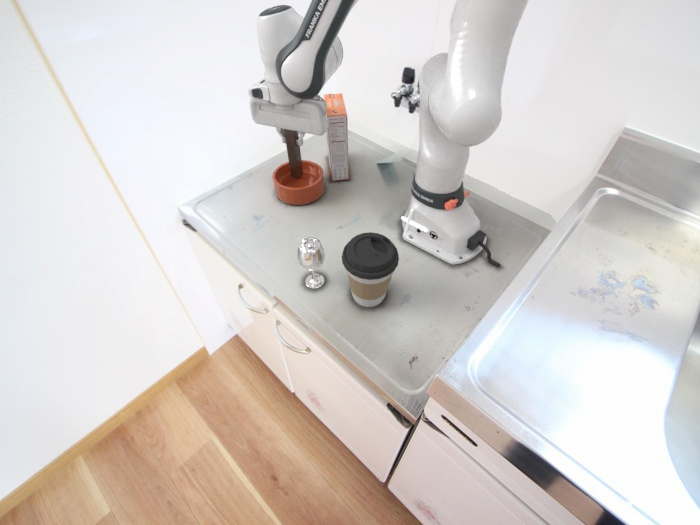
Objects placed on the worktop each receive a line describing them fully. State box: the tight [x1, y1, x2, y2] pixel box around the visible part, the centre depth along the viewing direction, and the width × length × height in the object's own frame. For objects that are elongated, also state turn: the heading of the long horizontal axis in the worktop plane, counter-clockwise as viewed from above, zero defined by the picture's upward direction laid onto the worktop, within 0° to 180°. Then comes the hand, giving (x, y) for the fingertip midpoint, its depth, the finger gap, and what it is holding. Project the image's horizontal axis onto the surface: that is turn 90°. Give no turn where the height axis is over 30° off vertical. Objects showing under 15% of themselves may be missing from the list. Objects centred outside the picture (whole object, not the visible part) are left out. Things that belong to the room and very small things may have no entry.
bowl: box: [271, 159, 325, 206], centre depth 101 cm, size 15×15×6 cm
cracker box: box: [323, 93, 350, 182], centre depth 103 cm, size 14×6×21 cm, turn 6°
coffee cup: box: [341, 232, 400, 308], centre depth 71 cm, size 11×11×15 cm
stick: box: [284, 129, 303, 179], centre depth 93 cm, size 3×3×16 cm
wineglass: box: [297, 236, 326, 290], centre depth 75 cm, size 6×6×12 cm
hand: (292, 143), depth 91 cm, fingers closed on stick, 2 cm apart
